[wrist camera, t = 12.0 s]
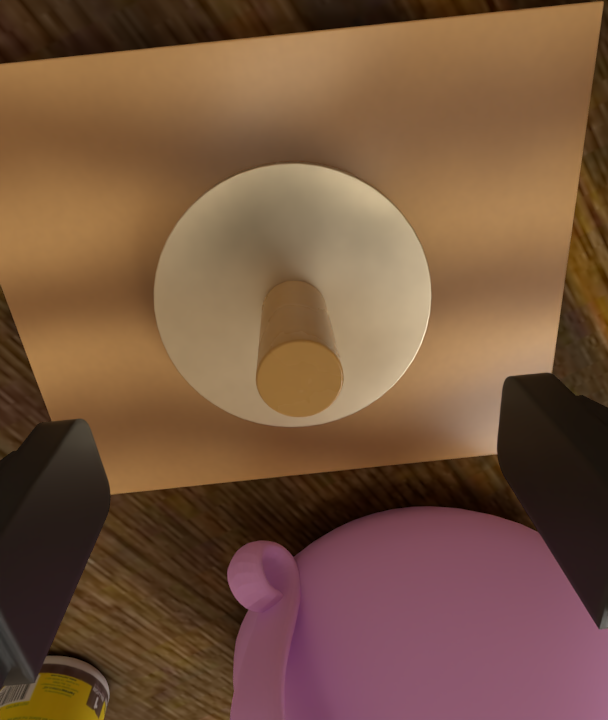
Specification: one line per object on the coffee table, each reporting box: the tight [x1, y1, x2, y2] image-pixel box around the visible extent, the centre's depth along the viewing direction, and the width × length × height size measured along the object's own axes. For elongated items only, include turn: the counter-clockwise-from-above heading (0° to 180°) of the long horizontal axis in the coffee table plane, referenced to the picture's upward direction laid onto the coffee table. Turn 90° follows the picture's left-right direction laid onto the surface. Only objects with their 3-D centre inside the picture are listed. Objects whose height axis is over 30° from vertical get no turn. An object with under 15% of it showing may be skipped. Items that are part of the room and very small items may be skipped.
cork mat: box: [0, 1, 604, 495], centre depth 18 cm, size 16×20×1 cm
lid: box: [154, 161, 432, 427], centre depth 15 cm, size 9×9×6 cm
